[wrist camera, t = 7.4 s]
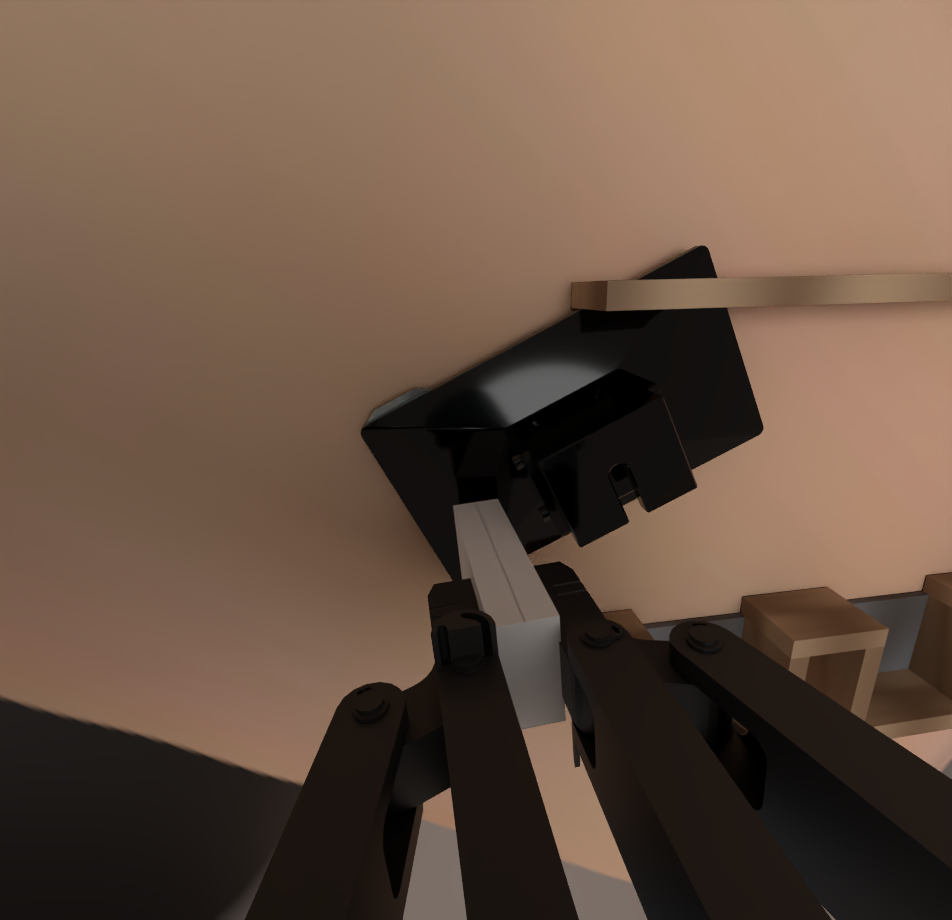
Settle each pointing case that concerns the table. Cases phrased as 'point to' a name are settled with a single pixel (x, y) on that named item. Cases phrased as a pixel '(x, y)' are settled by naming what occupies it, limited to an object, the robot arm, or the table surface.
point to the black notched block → (573, 422)
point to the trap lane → (822, 610)
